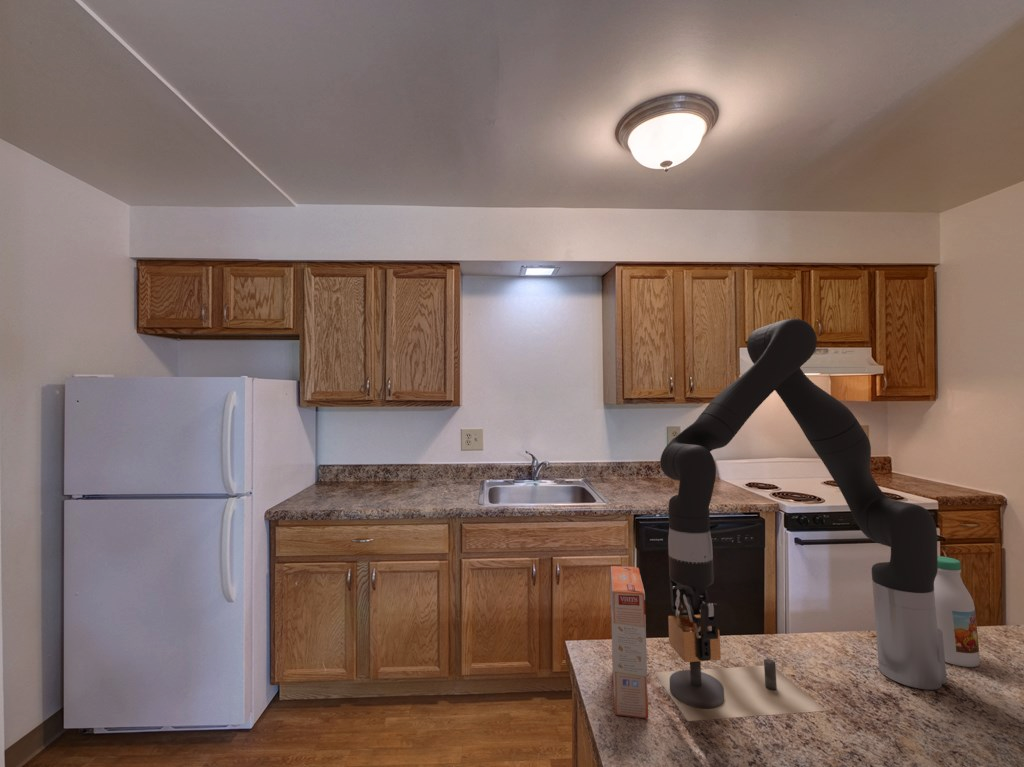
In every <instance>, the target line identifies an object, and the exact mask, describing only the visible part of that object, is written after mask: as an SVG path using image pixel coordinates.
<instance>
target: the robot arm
mask: <svg viewBox="0 0 1024 767" xmlns="http://www.w3.org/2000/svg"><path fill="white" fill-rule="evenodd" d="M817 346H818V336H817V333H816V331H815V330H814V328H813V326H812V325H811V324H810V323H809V322H807V321H805V320H803V319H800V318H787V319H782V320H780V321H775V322H773V323H771V324H767V325H765V326H762V327H761V326H760V327H759V328H757V329H754V330H753V331H751V333H750V334H749V336H748V338H747V340H746V348H747V352H748V356H749V358H750V360H751V362H752V363H753V364H752V365H751V367H749V368H748V369H747V371H745V372H744V373H743V374H742V375H740V376H739V377H737V379H735V380H734V381H733V382H732V383H730V384H728V386H726V387H725V388H723V390H721V391H720V392H718V394H717V395H716V396H715V397H713V399H712V400H711V401H710V402H709V404H708V405H706V408H704V410H703V411H702V412H701V414H700V415H699V416H698V418H696V420H694V422H693V423H692V424H690V425H688V426H687V427H686V428H685V429H684V430H682V431H681V432H680V433H679V434H677V435H676V436H674V437H673V439H672V440H670V442H668V443H667V445H666V446H665V447H664V449H663V451H662V453H661V455H660V459H659V460H660V461H659V462H660V463H659V465H660V468H661V471H662V472H663V474H664V475H665V476H667V477H668V478H670V479H671V480H675V481H679V487H678V492H677V494H676V495H673V496H671V497H670V499H669V500H668V538H667V539H668V540H667V541H668V543H667V544H668V545H667V546H668V570H669V572H668V573H669V590H670V591H669V592H670V604H671V610H672V611H673V612H675V616H678V615H689V619H690V622H691V623H693V625H694V629H695V633H696V649H697V658H698V659H699V660H700V661H701V662H707V661H706V660H710V659H711V648H710V639H718V629H719V606H718V603H716V602H714V603H713V602H710V601H709V595H708V591H707V589H708V588H709V586H712V584H714V580H715V577H714V574H715V573H714V555H713V554H714V551H713V540H712V536H711V535H712V534H711V522H710V521H711V520H710V519H711V518H710V504H711V501H712V497H713V493H714V487H715V483H716V478H717V466H716V461H715V459H714V456H713V454H712V451H714V450H717V449H721V448H724V447H726V446H727V445H728V444H729V443H730V442H731V441H732V440H733V438H734V437H735V436H737V434H738V432H740V431H741V428H742V427H744V425H745V424H746V423H747V421H748V420H749V419H750V418H751V416H752V414H754V413H755V411H757V409H758V408H759V407H760V406H761V405H762V404H763V403H764V402H765V401H766V400H767V398H768V397H769V396H771V394H773V392H774V391H775V393H776V394H777V395H778V397H779V398H780V399H781V400H782V402H783V404H784V405H785V406H786V408H787V409H788V411H789V413H790V415H791V416H792V417H793V418H794V420H795V421H796V423H797V424H798V426H799V427H800V429H801V430H802V432H803V435H804V436H805V438H806V439H807V441H808V442H809V444H810V446H811V447H812V448H813V450H814V451H815V453H816V454H817V456H818V457H819V459H820V460H821V461H822V463H823V465H824V467H825V468H826V469H827V471H828V472H829V475H830V477H831V478H832V479H833V481H834V483H835V484H836V485H837V488H838V489H839V491H840V492H841V494H842V497H843V499H844V500H845V502H846V504H847V506H848V508H849V511H850V512H851V515H852V517H853V519H854V521H855V523H856V524H857V526H858V527H859V529H860V530H861V532H862V533H863V534H864V536H865V537H867V538H869V539H870V540H871V541H872V542H874V543H876V544H880V545H883V546H886V547H890V559H889V562H888V561H885V562H876V563H874V564H873V565H871V566H872V567H871V578H872V579H871V582H872V594H873V608H874V610H873V611H874V623H875V635H876V649H877V650H876V652H877V661H878V662H877V663H878V670H879V672H880V673H882V675H884V676H886V678H888V679H890V680H892V681H895V682H896V683H899V684H902V685H903V686H907V687H910V688H915V689H921V690H931V691H932V690H938V689H940V688H942V685H944V684H947V683H948V682H947V681H948V680H947V670H946V662H945V655H944V643H943V633H942V631H941V630H940V629H938V628H937V618H936V606H935V595H934V580H935V577H936V575H937V570H938V560H937V556H938V531H937V527H936V526H937V525H936V522H935V519H934V517H933V515H932V514H931V512H930V511H929V510H928V509H926V508H925V507H923V506H921V505H919V504H915V503H911V502H906V501H900V500H896V499H890V498H889V497H888V496H887V495H885V493H884V492H883V490H882V489H881V488H880V487H879V485H878V484H877V482H876V480H875V479H874V477H873V476H872V472H871V457H872V448H871V447H872V446H871V441H870V439H869V437H868V435H867V433H866V431H865V430H864V428H863V427H862V425H861V424H860V422H859V421H858V419H857V418H856V416H855V414H854V413H853V412H852V411H851V409H849V408H848V407H847V406H846V405H845V404H843V403H842V402H841V401H840V400H838V399H837V398H836V397H834V396H833V395H832V394H830V393H828V391H827V392H826V391H825V390H823V389H822V388H821V387H819V386H818V385H816V384H815V383H814V382H813V381H812V380H810V378H809V377H808V376H807V375H806V374H805V372H804V371H803V369H801V367H802V366H803V365H804V364H805V363H807V361H809V360H810V359H811V357H812V356H813V355H814V354H815V351H816V349H817ZM694 615H701V617H700V618H697V617H695V616H694ZM699 623H701V630H700V627H699ZM711 626H712V631H711Z"/></svg>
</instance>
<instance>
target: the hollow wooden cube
mask: <svg viewBox="0 0 1024 767" xmlns="http://www.w3.org/2000/svg"><path fill="white" fill-rule="evenodd" d="M694 616H695V617H697V618H700V617H701V615H694ZM667 618H668V619H667V620H668V621H667V623H668V643H669V645H670V647H672V649H673V650H674V651H675V652H676V654H677V655H678V656H679V657H680V658H681V659H682V661H684V663H690V662H698V661H700V660H699V659H698V658H697V649H696V633H695V629H694V625H693V623H691V622H690V619H689V615H678V616H676V615H668V617H667ZM699 627H700V630H701V623H699ZM711 631H712V626H711ZM720 633H721V632H720V629H719V628H718V639H710V648H711V659H710V660H706V661H705V662H709V661H710V662H714V661H721V659H722V658H721V636H720Z"/></svg>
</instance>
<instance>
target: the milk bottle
mask: <svg viewBox="0 0 1024 767" xmlns="http://www.w3.org/2000/svg"><path fill="white" fill-rule="evenodd" d="M937 560H938V570H937V575H936V577H935V580H934V595H935V606H936V618H937V628H938V629H940V630H941V631H942V633H943V643H944V655H945V663H947V664H951V665H955V666H958V667H959V666H960V667H966V668H975V667H978V666H980V662H981V659H980V648H979V647H980V646H979V634H978V625H977V624H978V623H977V616H976V608H975V604H974V600H973V597H972V595H971V594H970V592H969V590H968V588H967V587H966V586H965V584H964V582H963V579H962V577H961V572H962V570H961V569H962V564H961V561H960V560H958V559H956V558H951V557H947V556H940V555H939V556H938V555H937Z"/></svg>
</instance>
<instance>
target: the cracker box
mask: <svg viewBox="0 0 1024 767" xmlns="http://www.w3.org/2000/svg"><path fill="white" fill-rule="evenodd" d="M640 572H641V571H640V568H639V567H636V566H620V565H611V566H610V607H611V608H610V612H611V615H610V616H611V655H612V656H611V658H612V660H611V661H612V664H611V665H612V685H613V686H612V688H613V691H612V692H613V701H614V702H613V704H614V705H613V706H614V715H615V716H623V717H632V718H637V719H638V718H639V719H648V718H649V702H648V701H649V700H648V697H649V695H648V693H649V692H648V669H647V668H648V665H647V664H648V660H647V659H648V658H647V630H646V629H647V628H646V627H647V624H646V620H647V619H646V616H647V615H646V593H645V589H644V584H643V581H642V577H641V573H640Z"/></svg>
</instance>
